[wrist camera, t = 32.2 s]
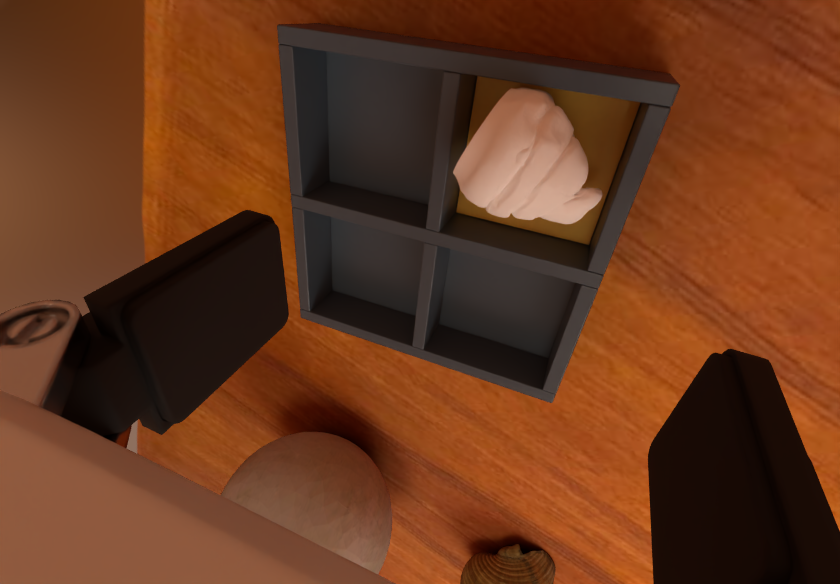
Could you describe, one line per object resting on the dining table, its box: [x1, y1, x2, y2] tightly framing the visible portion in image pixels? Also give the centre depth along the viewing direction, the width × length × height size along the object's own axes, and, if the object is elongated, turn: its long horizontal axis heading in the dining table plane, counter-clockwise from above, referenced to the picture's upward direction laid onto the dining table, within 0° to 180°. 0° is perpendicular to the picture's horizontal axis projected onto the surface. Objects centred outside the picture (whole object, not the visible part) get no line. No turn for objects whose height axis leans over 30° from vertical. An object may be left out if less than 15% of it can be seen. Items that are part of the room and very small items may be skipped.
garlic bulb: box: [453, 87, 602, 224], centre depth 19 cm, size 6×6×5 cm
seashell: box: [460, 544, 555, 584], centre depth 41 cm, size 10×7×8 cm
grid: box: [277, 23, 680, 403], centre depth 24 cm, size 17×17×4 cm
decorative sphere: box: [221, 432, 392, 574], centre depth 37 cm, size 15×15×15 cm
